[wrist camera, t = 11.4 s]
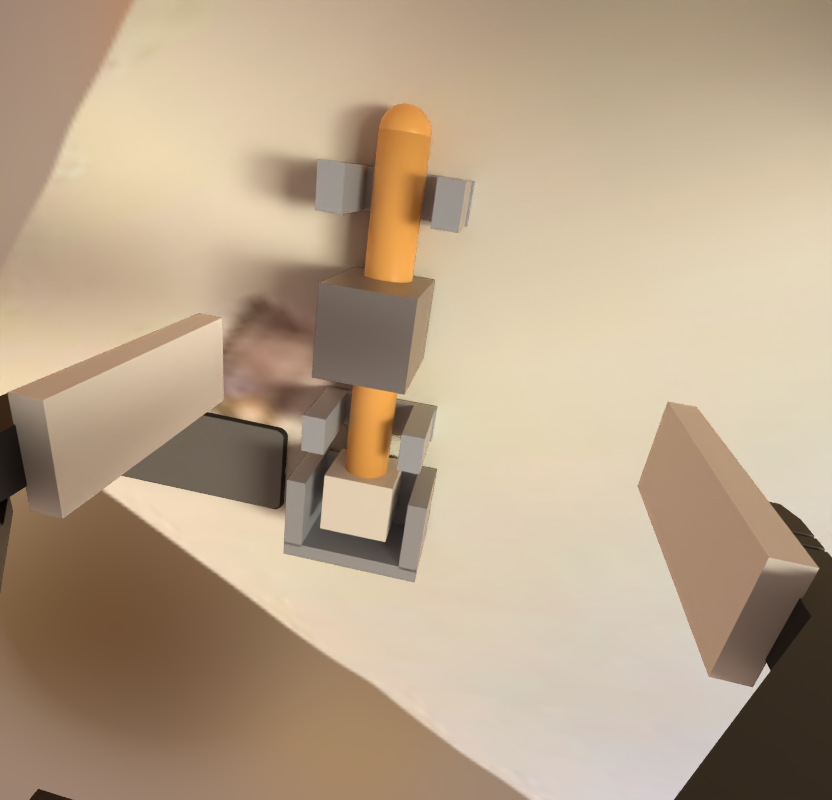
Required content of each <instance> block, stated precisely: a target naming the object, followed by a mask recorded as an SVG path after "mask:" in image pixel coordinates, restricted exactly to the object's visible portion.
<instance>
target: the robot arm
mask: <svg viewBox="0 0 832 800" xmlns="http://www.w3.org/2000/svg"><path fill="white" fill-rule="evenodd" d="M222 401H223V336H222V318H221V317H216V316H211V315H205V314H200V313H198V314H196V315H193V316H191V317H189V318H186V319H184V320H181V321H179V322H177V323H174V324H172V325H169V326H167V327H164V328H162V329H160V330H157V331H155V332H152V333H150V334H148V335H145V336H143V337H140V338H138V339H135V340H133V341H131V342H128V343H126V344H123V345H121V346H119V347H116V348H114V349H111V350H109V351H106V352H104V353H102V354H99V355H97V356H94V357H92V358H90V359H87V360H85V361H82V362H80V363H78V364H75V365H73V366H70V367H68V368H65V369H63V370H61V371H58V372H56V373H53V374H51V375H49V376H46V377H44V378H41V379H39V380H36V381H34V382H32V383H29V384H27V385H24V386H22V387H20V388H17V389H15V390H12V391H10V392H7V394H4V395H2V396H0V590H1V584H2V577H3V572H4V565H5V559H6V553H7V546H8V540H9V533H10V527H11V521H12V513H13V510H12V505H11V500H10V496H11V495H13V494H15V493H16V492H18V491H20V490H21V489H23V488H24V487H26V491H27V496H28V502H29V507H30V511H34V512H37V513H41V514H45V515H49V516H54V517H58V518H62V519H63V518H64V517H65V516H67V515H68V514H70V513H71V512H72V511H74V510H75V509H77V508H78V507H79V506H81V505H82V504H83V503H85V502H86V501H87V500H89V499H90V498H91V497H93V496H94V495H95V494H97V493H98V492H100V491H101V490H102V489H104V488H105V487H106V486H108V485H109V484H110V483H112V482H113V481H114V480H116V479H117V478H119V477H120V476H121V475H123V474H124V473H125V472H127V471H128V470H129V469H131V468H132V467H133V466H135V465H136V464H137V463H139V462H140V461H142V460H143V459H144V458H146V457H147V456H148V455H150V454H151V453H152V452H154V451H155V450H156V449H158V448H159V447H161V446H162V445H163V444H165V443H166V442H167V441H169V440H170V439H171V438H173V437H174V436H175V435H177V434H178V433H179V432H181V431H182V430H184V429H185V428H186V427H188V426H189V425H190V424H192V423H193V422H194V421H196V420H197V419H198V418H200V417H201V416H203V415H204V414H205V413H207V412H208V411H209V410H211V409H212V408H213V407H215V406H216V405H217V404H219V403H220V402H222ZM638 488H639V491H640V493H641V496H642V499H643V502H644V504H645V507H646V510H647V512H648V515H649V518H650V520H651V523H652V526H653V528H654V531H655V534H656V536H657V539H658V542H659V544H660V547H661V550H662V552H663V555H664V558H665V560H666V563H667V566H668V569H669V571H670V574H671V577H672V579H673V582H674V585H675V587H676V590H677V593H678V595H679V598H680V601H681V603H682V606H683V609H684V611H685V614H686V617H687V619H688V622H689V625H690V627H691V630H692V633H693V636H694V638H695V641H696V644H697V646H698V649H699V652H700V654H701V657H702V660H703V662H704V665H705V668H706V670H707V673H708V676H709V677H713V678H717V679H721V680H725V681H729V682H734V683H738V684H742V685H746V686H750V687H753V686H754V684H755V682H756V680H757V679H758V677H759V675H760V673H761V672H762V670H763V668H764V666H765V664H766V663H767V664H768V666H769V668H770V670H771V671H770V672H769V674H768V675H767V676H766V678H765V679H764V680H763V682H762V683H761V684H760V686H759V687H758V688H757V690H756V691H755V692H754V694H753V695H752V696H751V698H750V699H749V700H748V702H747V703H746V704H745V706H744V707H743V708H742V710H741V711H740V712H739V714H738V715H737V716H736V718H735V719H734V720H733V722H732V723H731V724H730V726H729V727H728V728H727V730H726V731H725V732H724V734H723V735H722V736H721V738H720V739H719V740H718V742H717V743H716V744H715V746H714V747H713V748H712V750H711V751H710V752H709V754H708V755H707V756H706V758H705V759H704V760H703V762H702V763H701V764H700V766H699V767H698V768H697V770H696V771H695V772H694V774H693V775H692V776H691V778H690V779H689V780H688V782H687V783H686V784H685V786H684V787H683V788H682V790H681V791H680V792H679V794H678V795H677V796H676V798H675V799H674V800H832V557H831V556H830V555H829V554H828V552H824V550H825V549H824V547H823V546H822V545H821V544H820V542H819V541H818V540H817V539H815V538H814V535H813V534H812V533H811V531H810V530H809V529H808V528H807V527H806V525H805V524H804V523H803V522H802V520H801V519H799V518H798V517H797V516H795V515H794V514H793V513H791V512H790V511H789V510H787V509H786V508H784V507H783V506H782V505H780V504H777V503H772V502H769V501H768V500H767V499H766V498H765V496H764V495H763V494H762V492H761V491H760V490H759V488H758V487H757V486H756V484H755V483H754V482H753V480H752V479H751V478H750V476H749V475H748V474H747V473H746V471H745V470H744V469H743V467H742V466H741V465H740V463H739V462H738V461H737V459H736V458H735V457H734V455H733V454H732V453H731V451H730V450H729V449H728V448H727V446H726V445H725V444H724V442H723V441H722V440H721V438H720V437H719V436H718V434H717V433H716V432H715V430H714V429H713V428H712V427H711V425H710V424H709V423H708V421H707V420H706V419H705V417H704V416H703V415H702V413H701V412H700V411H699V409H698V408H697V407H694V406H689V405H684V404H678V403H673V402H667V405H666V408H665V411H664V413H663V416H662V419H661V422H660V425H659V428H658V430H657V433H656V436H655V439H654V442H653V444H652V447H651V450H650V453H649V456H648V458H647V461H646V464H645V467H644V470H643V472H642V475H641V478H640V481H639V484H638ZM30 800H72V799H69V798H66V797H62V796H59V795H56V794H53V793H50V792H46V791H43V790H40V789H38V790H37V791H36V792H35V793H34V795H33V796H32V797H31V799H30Z"/></svg>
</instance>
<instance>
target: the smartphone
mask: <svg viewBox="0 0 832 800" xmlns="http://www.w3.org/2000/svg"><path fill="white" fill-rule="evenodd" d="M287 441H288V435H287V433H286V431H285V430H284V429H282V428H279V427H274V426H270V425H265V424H260V423H256V422H251V421H246V420H241V419H237V418H232V417H227V416H223V415H218V414H213V413H208V412H207V413H205V414H204V415H203V416H201V417H200V418H198V419H197V420H196V421H194V422H193V423H192V424H190V425H189V426H188V427H186V428H185V429H184V430H182V431H181V432H179V433H178V434H177V435H175V436H174V437H173V438H171V439H170V440H169V441H167V442H166V443H165V444H163V445H162V446H161V447H159V448H158V449H156V450H155V451H154V452H152V453H151V454H150V455H148V456H147V457H146V458H144V459H143V460H142V461H140V462H139V463H137V464H136V465H135V466H133V467H132V468H131V469H129V470H128V471H127V472H125V473H124V474H123V475H121V476H126V477H130V478H135V479H140V480H144V481H149V482H153V483H158V484H162V485H167V486H172V487H176V488H181V489H185V490H190V491H195V492H199V493H204V494H208V495H213V496H218V497H222V498H227V499H231V500H236V501H240V502H245V503H250V504H254V505H259V506H263V507H268V508H273V509H278V508H280V507H281V506H282V505H283V503H284V488H285V467H286V456H287V455H286V454H287V453H286V452H287Z"/></svg>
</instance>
